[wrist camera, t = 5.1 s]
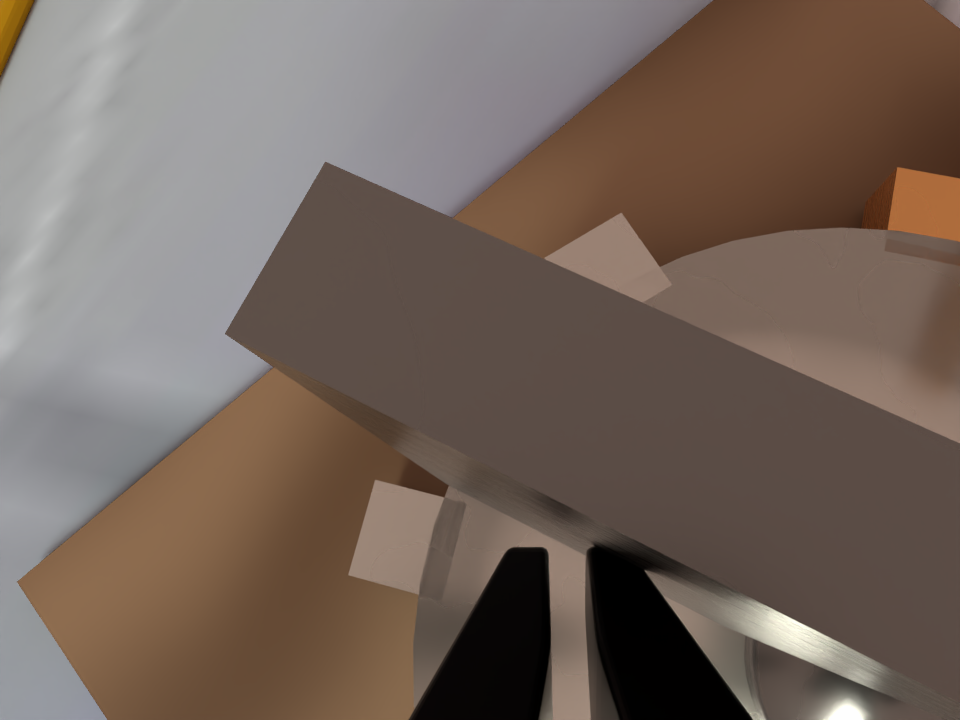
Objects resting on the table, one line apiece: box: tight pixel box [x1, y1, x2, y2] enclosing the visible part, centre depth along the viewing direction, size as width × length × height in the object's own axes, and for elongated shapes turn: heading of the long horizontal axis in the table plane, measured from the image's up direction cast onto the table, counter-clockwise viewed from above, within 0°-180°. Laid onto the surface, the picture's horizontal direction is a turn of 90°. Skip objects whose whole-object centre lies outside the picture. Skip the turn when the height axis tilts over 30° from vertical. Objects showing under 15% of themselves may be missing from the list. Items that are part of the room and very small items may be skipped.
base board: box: [17, 0, 960, 720], centre depth 14 cm, size 24×24×3 cm
